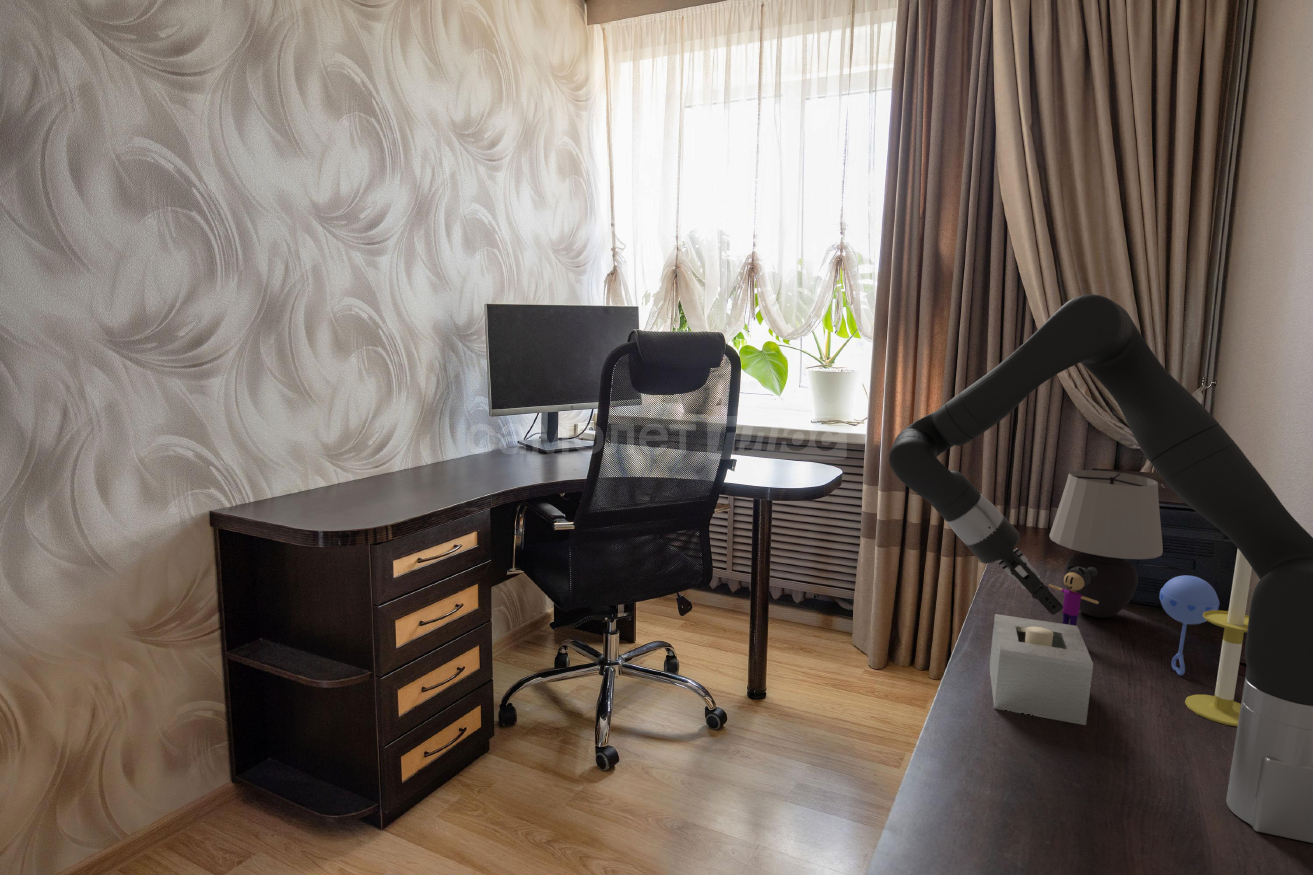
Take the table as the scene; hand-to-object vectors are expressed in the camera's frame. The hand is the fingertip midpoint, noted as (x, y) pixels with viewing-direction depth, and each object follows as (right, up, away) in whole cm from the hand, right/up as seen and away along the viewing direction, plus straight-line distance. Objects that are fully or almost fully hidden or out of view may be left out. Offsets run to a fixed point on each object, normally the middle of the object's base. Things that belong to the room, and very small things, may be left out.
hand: (1049, 601), depth 127 cm
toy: (+17, -13, +26) cm, 33 cm away
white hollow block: (-1, -16, +3) cm, 16 cm away
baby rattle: (+29, -16, +12) cm, 35 cm away
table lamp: (+30, -11, +39) cm, 50 cm away
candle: (+27, -18, -1) cm, 32 cm away
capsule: (-1, -15, +3) cm, 15 cm away
